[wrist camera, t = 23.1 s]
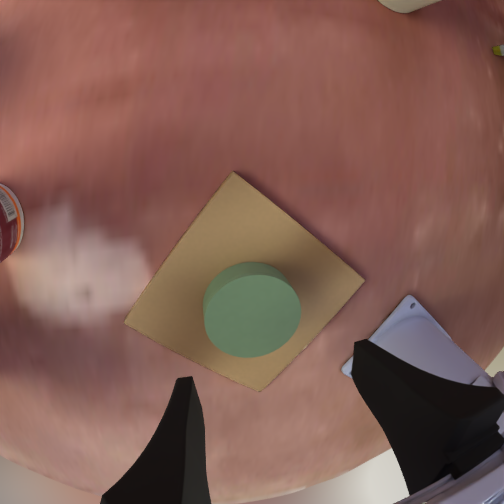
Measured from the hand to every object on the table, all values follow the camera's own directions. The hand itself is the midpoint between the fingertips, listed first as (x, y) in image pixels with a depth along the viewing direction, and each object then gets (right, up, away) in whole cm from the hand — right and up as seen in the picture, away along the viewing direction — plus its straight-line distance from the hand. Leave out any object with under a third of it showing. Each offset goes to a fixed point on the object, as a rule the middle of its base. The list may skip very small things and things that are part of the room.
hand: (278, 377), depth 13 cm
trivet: (-1, +2, +7) cm, 7 cm away
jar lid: (-1, +2, +5) cm, 5 cm away
